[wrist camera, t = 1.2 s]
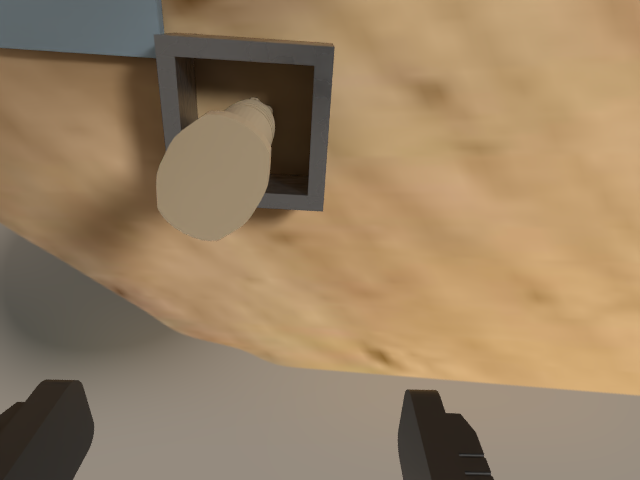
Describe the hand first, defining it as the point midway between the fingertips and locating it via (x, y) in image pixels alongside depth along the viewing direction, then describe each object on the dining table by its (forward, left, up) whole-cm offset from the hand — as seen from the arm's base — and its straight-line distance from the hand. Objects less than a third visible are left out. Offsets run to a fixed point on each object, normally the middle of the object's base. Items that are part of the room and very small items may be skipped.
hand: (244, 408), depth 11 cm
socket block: (-2, -3, -27) cm, 27 cm away
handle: (-2, -3, -27) cm, 27 cm away
